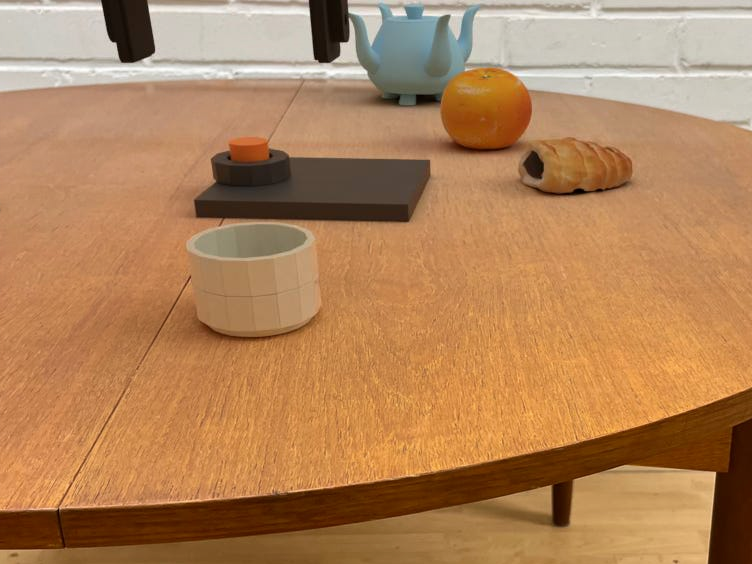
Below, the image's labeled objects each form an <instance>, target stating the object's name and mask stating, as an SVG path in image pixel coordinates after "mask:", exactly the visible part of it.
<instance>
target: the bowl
mask: <svg viewBox="0 0 752 564" xmlns="http://www.w3.org/2000/svg"><path fill="white" fill-rule="evenodd" d="M184 245H185V248H186V256H187V263H188V269H189V274H190V280H191V286H192V292H193V294H192V295H193V299H194V305H195V311H196V316H197V320H198V321H200V322H202V323H203V324H205V325H207V326H208V328H210V329H211V330H212V331H214V332H217V333H219V334H222V335H225V336H231V337H237V338H238V337H239V338H262V337H270V336H277V335H281V334H286V333H289V332H292V331H295V330H297V329H300V328H302V327H303V326H305V325H307V324H308V323H309V322H310V321H311V320H312V319H313V317H314V316H316V315H317V314H318V313H319V311H320V309H321V307H322V297H321V285H320V273H319V261H318V260H319V259H318V251H317V240H316V237H315V235H314V233H313V231H312V230H310V229H308V228H306V227H303V226H300V225H297V224H292V223H285V222H278V221H249V222H238V223H237V222H236V223H229V224H225V225H219V226H216V227H215V226H214V227H211V228H207V229H204V230H203V231H200V232H198V233H195V234H193V235H192V236H191V237H190V238H188V239H187V241H186V242H185V244H184Z"/></svg>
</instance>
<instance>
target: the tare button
mask: <svg viewBox="0 0 752 564" xmlns="http://www.w3.org/2000/svg"><path fill="white" fill-rule="evenodd" d="M228 147H229V150H230V156H231V161H236V162H254V161H262V160H266V159H270V157H269V149H270V148H269V140H268V139H267V138H264V137H259V136H244V137H236V138H232V139H230V140H229V141H228Z"/></svg>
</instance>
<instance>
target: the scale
mask: <svg viewBox="0 0 752 564" xmlns="http://www.w3.org/2000/svg"><path fill="white" fill-rule="evenodd" d="M269 157H270V159H266V160H262V161H254V162H236V161H231V156H230V149H229V150H225V151H221V152H218V153H216V154H215V155H213V156H212V157H211V158H210V163H211V173H212V177H213V180H214V182H213V183H212V184H211V185H210V186H209V187H207V188H206V189H205V190H204V191H202V192H201V193H200V194H199V195H198V196H197V197H196V198H194V199H193V203H194V204H193V205H194V210H195V217H196V218H199V219H200V218H201V219H203V218H204V219H247V220H248V219H249V220H255V219H256V220H290V221H291V220H294V221H334V222H335V221H336V222H337V221H339V222H378V223H379V222H380V223H410V220H411V219H412V216H413V215H414V212H415V210H416V208H417V205H418V203H419V202H420V201H419V200H420V199H421V198H422V195H423V192H424V191H425V189H426V186H427V184H428V182H429V180H430V178H431V159H416V158H415V159H411V158H409V159H408V158H407V159H404V158H362V157H361V158H357V157H355V158H353V157H299V156H290V155H289V153H287V152H285V151H284V150H280V149H275V148H269Z"/></svg>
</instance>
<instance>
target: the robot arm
mask: <svg viewBox="0 0 752 564" xmlns="http://www.w3.org/2000/svg"><path fill="white" fill-rule="evenodd" d="M100 2H101V3H100V4H101V8H102V13H103V18H104V24H105V29H106V33H107V36H108V39H109V40H110V42H111V43H114V44H115V45H116V51H117V55H118V59H119V62H120V63H122V64H134V63H137V62H139V61H142V60H145V59H148V58H150V57H152V56H153V55H154V54H155V53H156V44H155V38H154V30H153V27H152V25H153V24H152V21H151V14H150V8H149V2H148V0H100ZM308 9H309V20H310V31H311V32H310V33H311V42H312V44H311V45H312V52H313V53H312V55H313V59H314V61H317V62H318V64H331V63H332V62H333V61H336V60H337V59H338V58H339V57H341V51H342V50H341V44H343V43H344V44H346V43H348V42H349V41H350V36H351V34H350V33H351V30H350V29H351V28H350V18H349V13H350V11H349V1H348V0H308Z"/></svg>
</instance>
